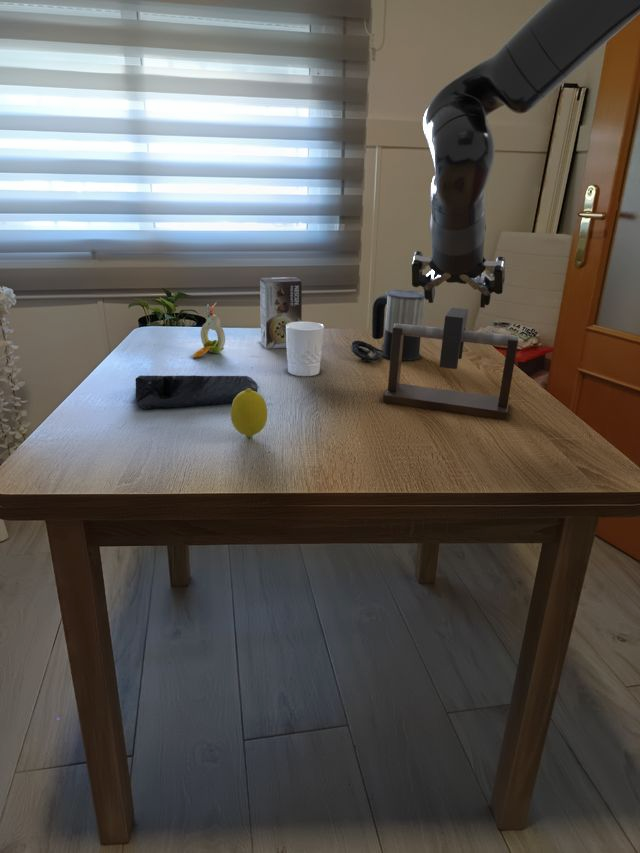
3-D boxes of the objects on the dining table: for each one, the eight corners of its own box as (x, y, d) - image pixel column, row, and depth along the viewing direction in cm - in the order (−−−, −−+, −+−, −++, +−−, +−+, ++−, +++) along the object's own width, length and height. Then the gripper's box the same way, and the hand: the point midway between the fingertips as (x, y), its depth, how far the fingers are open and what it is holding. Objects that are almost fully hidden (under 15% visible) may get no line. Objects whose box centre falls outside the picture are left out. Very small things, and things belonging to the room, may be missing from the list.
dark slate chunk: (260, 408, 101) (260, 383, 99) (130, 411, 97) (128, 385, 96) (255, 381, 115) (255, 358, 113) (142, 383, 111) (140, 359, 110)
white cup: (288, 378, 118) (288, 330, 114) (282, 367, 125) (283, 321, 121) (325, 376, 119) (327, 329, 115) (318, 366, 126) (319, 321, 123)
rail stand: (508, 405, 107) (520, 331, 101) (506, 420, 100) (519, 341, 94) (392, 389, 113) (398, 319, 108) (382, 402, 106) (388, 327, 101)
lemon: (264, 429, 92) (264, 382, 89) (269, 443, 87) (269, 393, 84) (230, 431, 91) (228, 383, 88) (232, 445, 86) (231, 395, 83)
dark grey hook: (439, 367, 100) (445, 316, 97) (445, 355, 107) (451, 307, 104) (456, 369, 99) (463, 317, 96) (461, 357, 106) (468, 309, 103)
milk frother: (426, 355, 138) (433, 292, 132) (400, 370, 125) (406, 302, 120) (373, 346, 145) (377, 286, 139) (343, 359, 132) (346, 294, 126)
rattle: (181, 352, 133) (178, 302, 129) (213, 347, 138) (211, 299, 134) (195, 359, 128) (193, 308, 123) (228, 354, 132) (227, 305, 128)
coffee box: (294, 341, 147) (296, 276, 140) (301, 347, 141) (303, 280, 135) (259, 342, 144) (259, 276, 138) (265, 349, 138) (265, 280, 132)
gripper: (403, 251, 83) (411, 315, 97) (505, 257, 79) (497, 324, 93) (413, 211, 85) (419, 279, 100) (513, 215, 81) (504, 286, 96)
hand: (457, 301), depth 96 cm, fingers open, 8 cm apart
